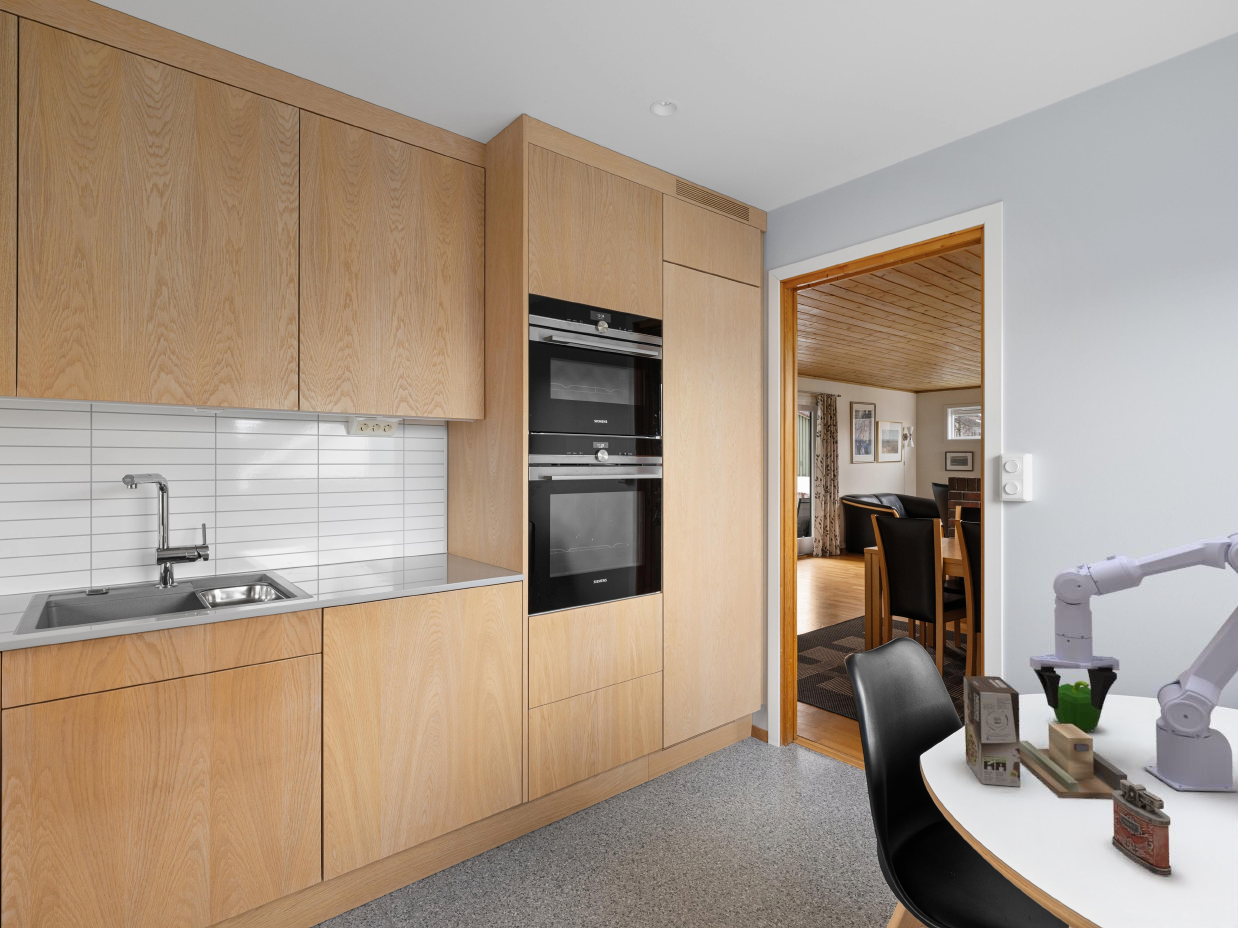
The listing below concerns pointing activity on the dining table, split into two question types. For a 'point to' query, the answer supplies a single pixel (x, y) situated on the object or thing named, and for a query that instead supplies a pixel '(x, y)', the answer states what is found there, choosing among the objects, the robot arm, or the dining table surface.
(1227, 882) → the dining table surface
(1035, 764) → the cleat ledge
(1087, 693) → the bell pepper
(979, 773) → the coffee box
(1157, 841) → the lighter
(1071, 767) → the oak cabinet block
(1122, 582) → the robot arm
